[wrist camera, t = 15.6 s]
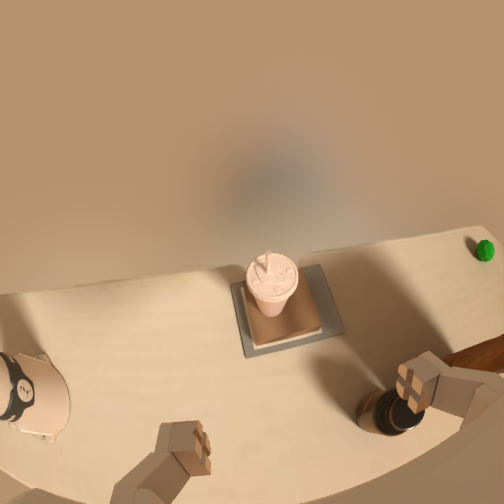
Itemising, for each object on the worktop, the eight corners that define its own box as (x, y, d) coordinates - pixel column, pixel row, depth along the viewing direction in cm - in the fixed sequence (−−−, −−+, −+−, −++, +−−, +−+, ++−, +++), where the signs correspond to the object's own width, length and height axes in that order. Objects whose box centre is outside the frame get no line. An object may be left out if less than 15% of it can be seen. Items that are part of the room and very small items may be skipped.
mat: (246, 358, 40) (246, 357, 39) (230, 285, 47) (230, 284, 46) (343, 332, 41) (344, 332, 40) (319, 265, 48) (319, 264, 48)
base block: (256, 346, 40) (255, 341, 38) (243, 289, 46) (242, 281, 43) (318, 330, 41) (322, 324, 39) (301, 276, 46) (302, 267, 44)
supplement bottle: (355, 392, 35) (385, 384, 25) (394, 390, 35) (433, 380, 25) (352, 434, 32) (382, 441, 22) (392, 430, 31) (431, 433, 21)
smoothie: (262, 280, 43) (260, 223, 32) (299, 297, 41) (312, 244, 30) (241, 313, 40) (231, 265, 29) (280, 332, 38) (287, 291, 27)
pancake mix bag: (381, 384, 36) (508, 329, 12) (461, 340, 37) (567, 262, 14) (392, 420, 32) (528, 404, 8) (471, 370, 33) (585, 309, 10)
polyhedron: (482, 246, 47) (492, 234, 43) (490, 263, 45) (500, 252, 41) (470, 248, 47) (480, 236, 43) (478, 266, 45) (489, 255, 41)
